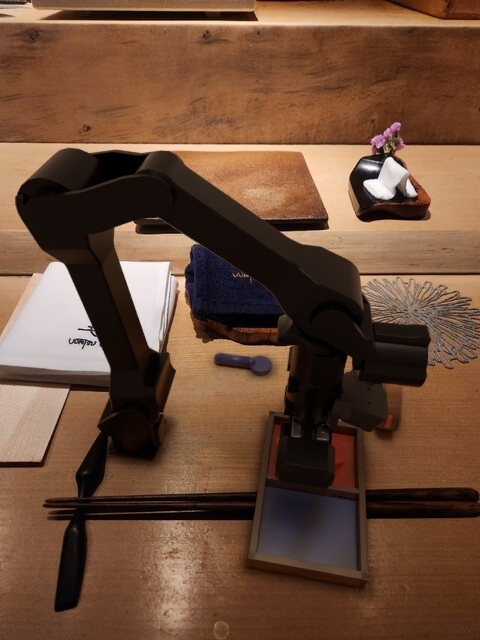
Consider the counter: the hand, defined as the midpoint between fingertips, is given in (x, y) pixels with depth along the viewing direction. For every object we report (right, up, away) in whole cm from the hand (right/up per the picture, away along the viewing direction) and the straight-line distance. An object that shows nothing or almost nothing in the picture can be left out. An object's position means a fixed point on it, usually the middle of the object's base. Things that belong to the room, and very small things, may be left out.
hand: (300, 446), depth 60 cm
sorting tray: (+1, -6, -2) cm, 6 cm away
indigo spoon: (-8, +9, +14) cm, 19 cm away
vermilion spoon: (+1, -1, +1) cm, 2 cm away
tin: (+14, +4, +10) cm, 17 cm away
